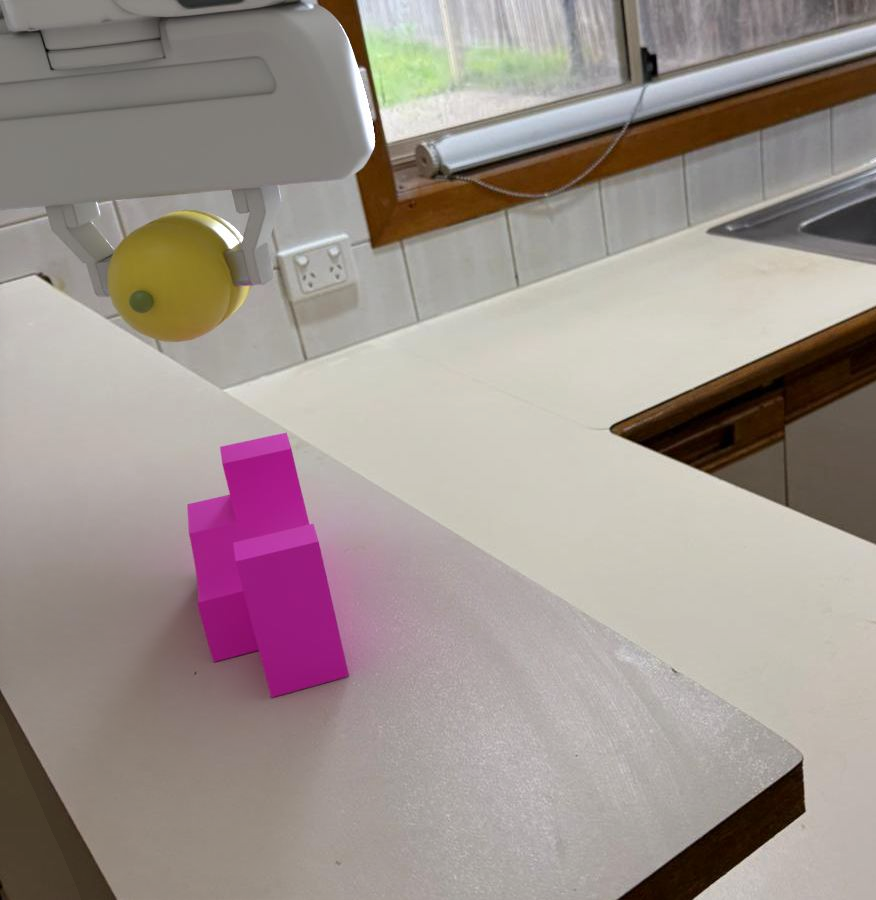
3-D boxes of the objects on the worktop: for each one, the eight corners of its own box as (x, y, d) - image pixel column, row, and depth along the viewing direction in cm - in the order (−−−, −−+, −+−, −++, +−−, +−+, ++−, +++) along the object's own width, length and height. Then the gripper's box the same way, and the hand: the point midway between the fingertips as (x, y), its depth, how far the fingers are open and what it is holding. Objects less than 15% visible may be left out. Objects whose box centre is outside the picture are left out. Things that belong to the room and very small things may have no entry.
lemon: (211, 361, 51) (179, 237, 49) (94, 368, 52) (58, 247, 49) (288, 297, 60) (264, 190, 57) (187, 304, 60) (160, 199, 58)
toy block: (205, 572, 67) (174, 456, 64) (312, 546, 69) (286, 432, 66) (217, 712, 54) (178, 575, 51) (348, 676, 56) (318, 541, 53)
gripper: (-163, 7, 48) (-52, 323, 53) (305, -48, 45) (370, 291, 50) (-67, -1, 53) (24, 285, 59) (352, -50, 51) (406, 255, 56)
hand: (187, 288), depth 55 cm, fingers closed on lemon, 5 cm apart
